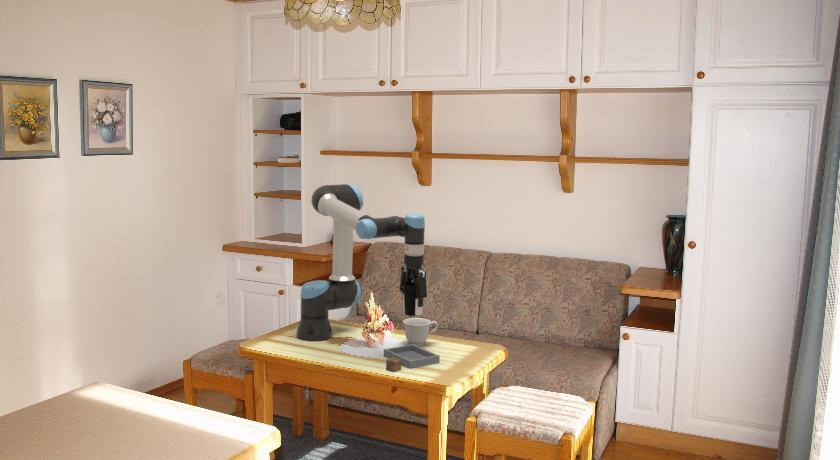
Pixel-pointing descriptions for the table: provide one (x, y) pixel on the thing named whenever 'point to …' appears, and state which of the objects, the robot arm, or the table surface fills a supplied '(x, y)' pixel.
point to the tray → (412, 355)
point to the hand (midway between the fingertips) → (412, 312)
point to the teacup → (418, 330)
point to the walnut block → (393, 364)
